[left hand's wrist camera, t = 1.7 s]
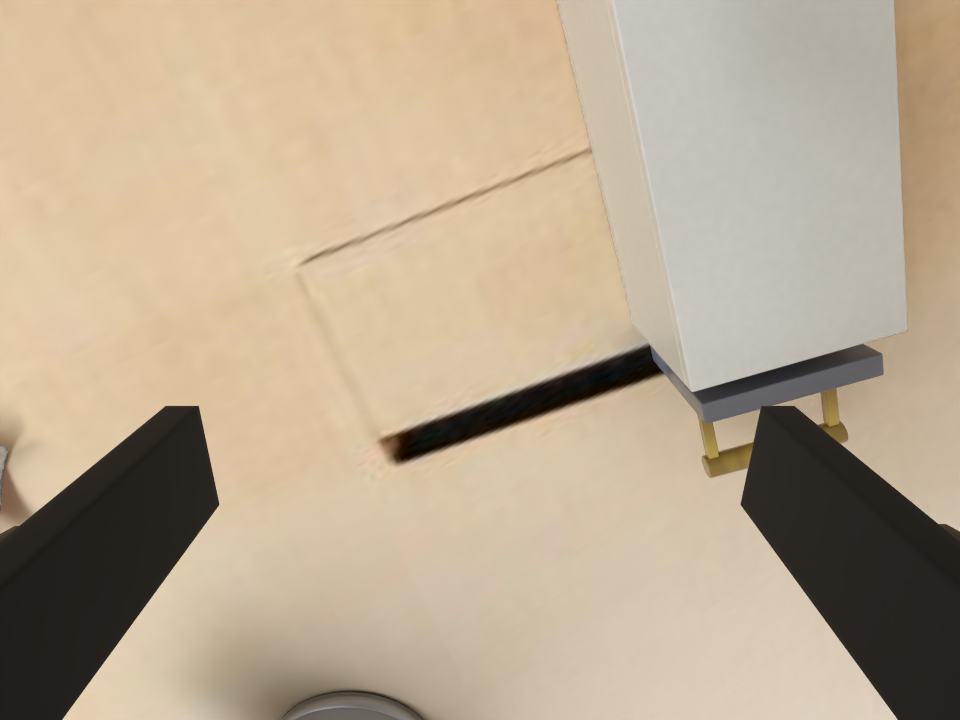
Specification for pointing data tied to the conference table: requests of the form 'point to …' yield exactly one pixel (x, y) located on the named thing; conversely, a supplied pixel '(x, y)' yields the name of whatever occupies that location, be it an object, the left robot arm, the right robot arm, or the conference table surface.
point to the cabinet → (747, 174)
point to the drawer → (775, 397)
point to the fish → (2, 466)
